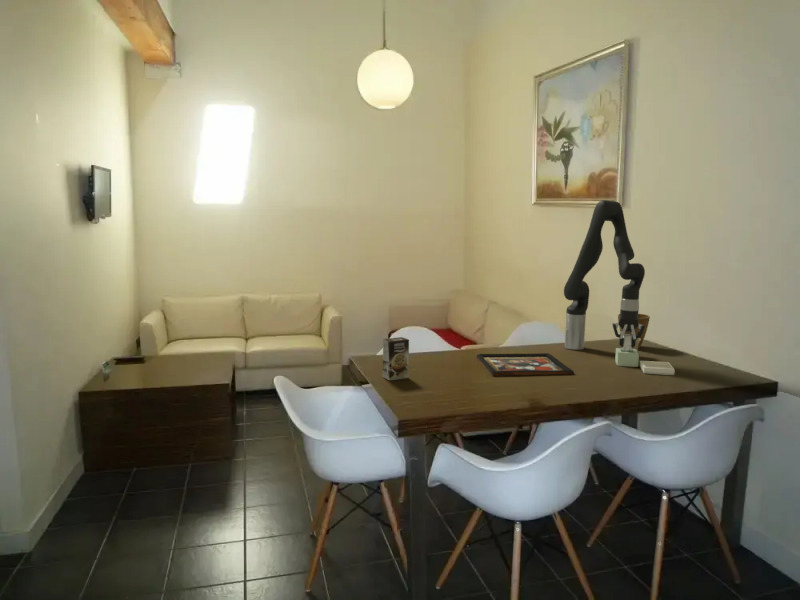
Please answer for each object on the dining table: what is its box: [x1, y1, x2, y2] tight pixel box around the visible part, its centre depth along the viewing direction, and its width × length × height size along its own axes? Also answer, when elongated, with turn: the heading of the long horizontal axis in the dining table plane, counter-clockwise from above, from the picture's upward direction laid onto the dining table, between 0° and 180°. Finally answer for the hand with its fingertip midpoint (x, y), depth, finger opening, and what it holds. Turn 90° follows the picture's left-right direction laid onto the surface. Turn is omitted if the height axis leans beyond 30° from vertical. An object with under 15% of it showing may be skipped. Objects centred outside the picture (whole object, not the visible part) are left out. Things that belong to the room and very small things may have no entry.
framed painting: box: [476, 352, 575, 377], centre depth 273 cm, size 38×35×3 cm
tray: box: [638, 360, 676, 376], centre depth 266 cm, size 12×12×2 cm
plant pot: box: [617, 313, 651, 349], centre depth 309 cm, size 15×15×16 cm
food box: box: [382, 336, 410, 381], centre depth 253 cm, size 9×6×16 cm
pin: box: [622, 334, 633, 352], centre depth 276 cm, size 4×4×12 cm
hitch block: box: [614, 347, 640, 368], centre depth 276 cm, size 9×9×6 cm
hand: (626, 346), depth 276 cm, fingers closed on pin, 4 cm apart
